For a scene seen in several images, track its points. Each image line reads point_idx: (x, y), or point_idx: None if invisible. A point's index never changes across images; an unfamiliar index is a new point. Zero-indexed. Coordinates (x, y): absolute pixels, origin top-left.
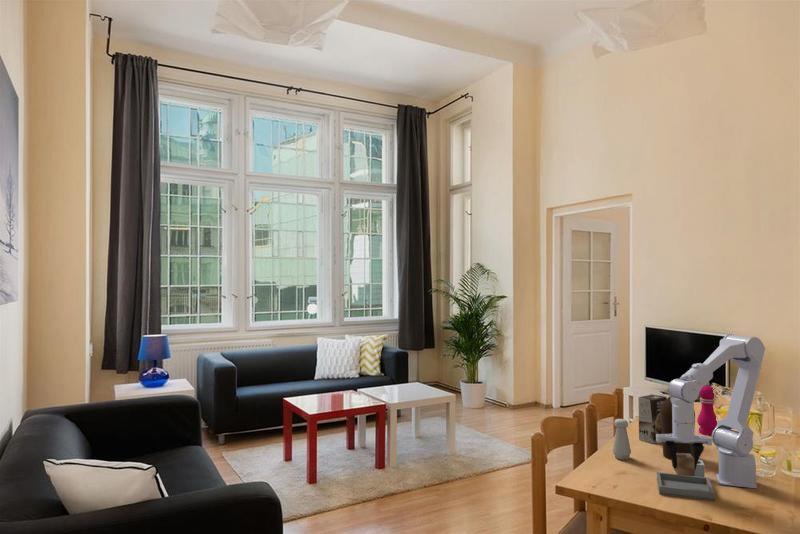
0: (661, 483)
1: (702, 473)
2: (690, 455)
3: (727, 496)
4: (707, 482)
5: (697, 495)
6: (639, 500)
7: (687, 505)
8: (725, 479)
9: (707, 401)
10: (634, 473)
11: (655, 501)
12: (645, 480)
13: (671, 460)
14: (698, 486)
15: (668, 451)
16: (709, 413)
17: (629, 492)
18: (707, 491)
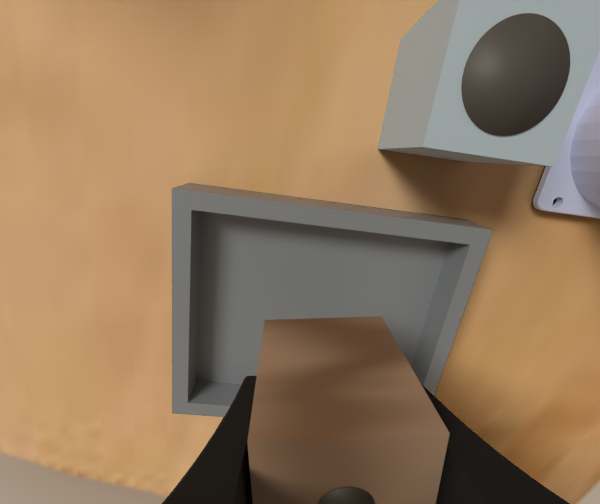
0: (187, 376)
1: (488, 162)
2: (427, 484)
3: (484, 345)
4: (448, 307)
5: None
6: (101, 452)
7: None
8: (594, 191)
9: None
10: (43, 93)
11: (165, 448)
12: (121, 217)
13: (230, 411)
14: (392, 285)
15: (173, 494)
16: None
17: (52, 390)
18: None
